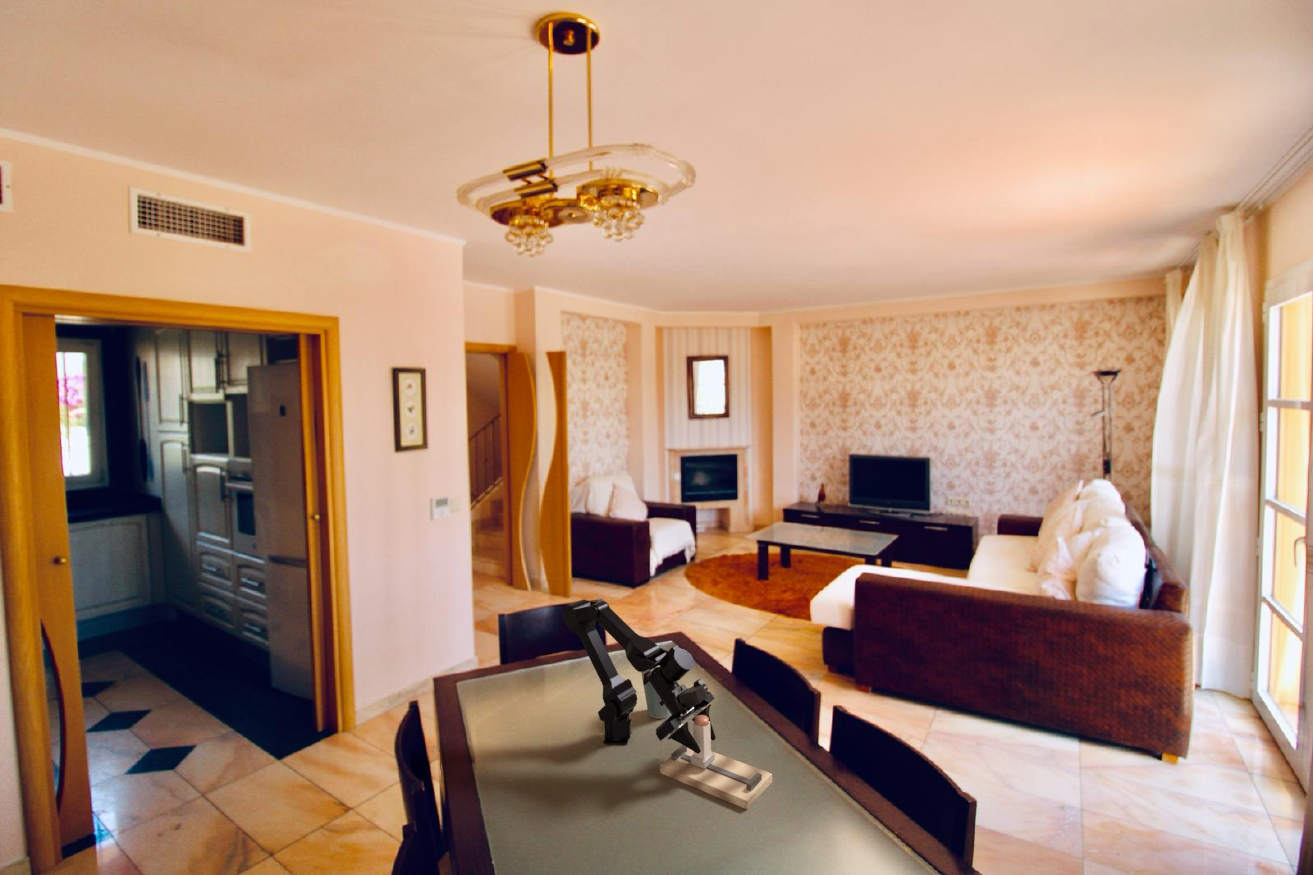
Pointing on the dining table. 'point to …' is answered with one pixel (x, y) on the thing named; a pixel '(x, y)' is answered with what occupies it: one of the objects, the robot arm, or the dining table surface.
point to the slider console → (718, 777)
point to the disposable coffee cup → (654, 701)
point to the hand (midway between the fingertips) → (707, 746)
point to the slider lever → (702, 742)
